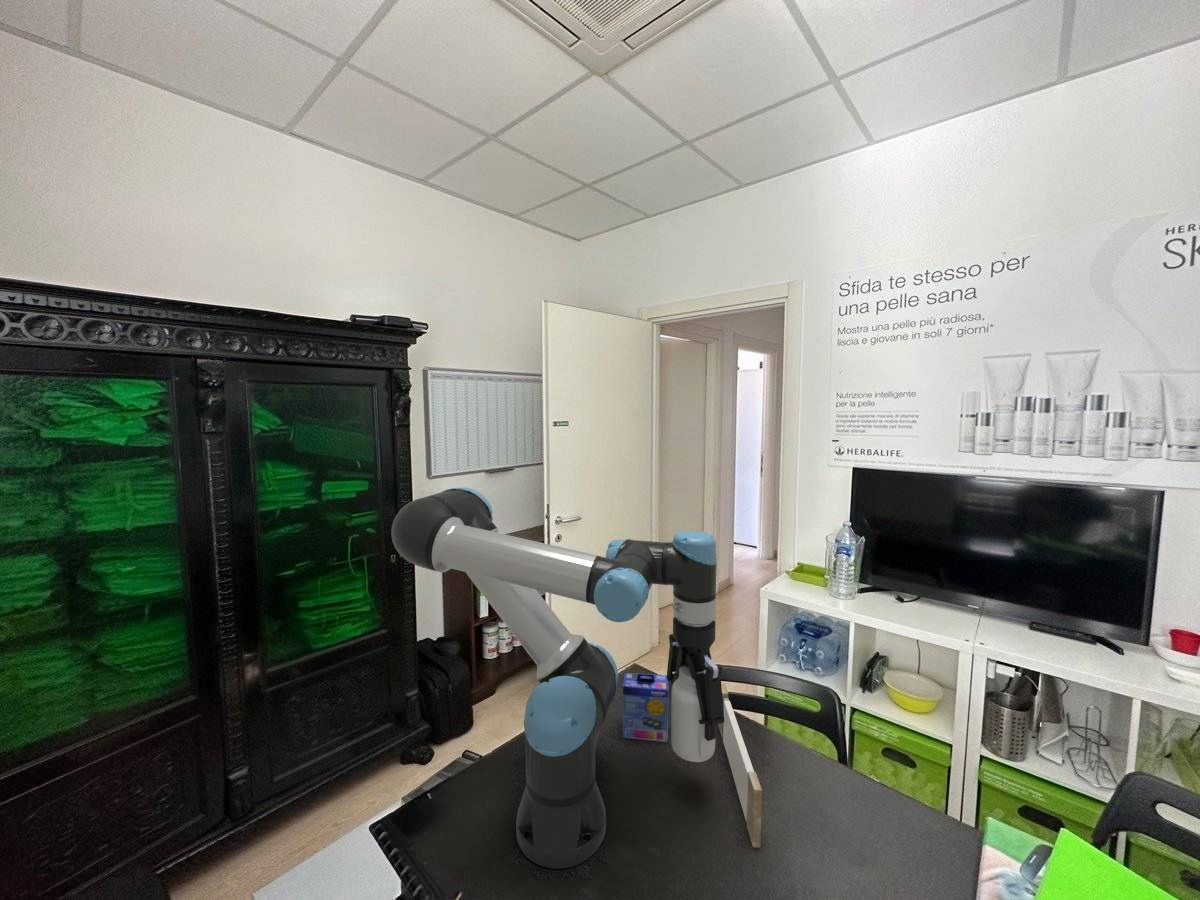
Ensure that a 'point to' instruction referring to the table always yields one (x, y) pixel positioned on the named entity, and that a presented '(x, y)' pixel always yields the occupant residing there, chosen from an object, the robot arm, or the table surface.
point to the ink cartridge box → (645, 707)
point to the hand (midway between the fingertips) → (692, 737)
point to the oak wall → (750, 797)
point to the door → (736, 754)
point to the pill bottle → (686, 717)
